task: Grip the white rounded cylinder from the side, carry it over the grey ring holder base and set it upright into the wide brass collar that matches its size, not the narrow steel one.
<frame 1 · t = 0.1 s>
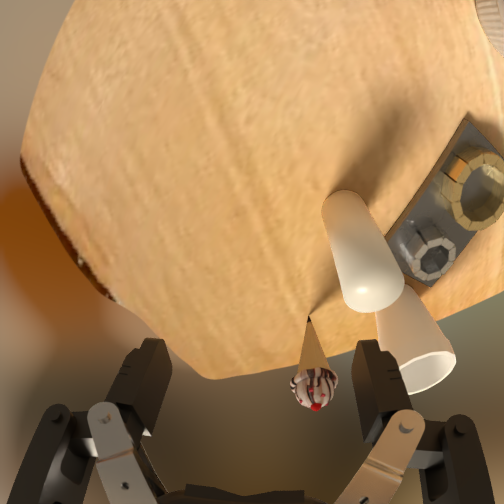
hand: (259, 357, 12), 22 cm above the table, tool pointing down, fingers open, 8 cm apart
grey ring holder base: (448, 209, 31), on the table
white rounded cylinder: (343, 210, 32), on the table
ice cream cone: (308, 315, 42), on the table
foam cup: (394, 299, 40), on the table
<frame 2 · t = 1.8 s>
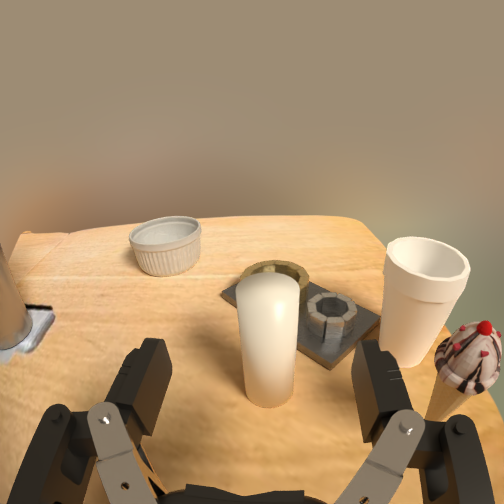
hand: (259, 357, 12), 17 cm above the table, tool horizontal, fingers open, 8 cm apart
grey ring holder base: (297, 311, 41), on the table
white rounded cylinder: (269, 389, 30), on the table
ice cream cone: (418, 438, 22), on the table
ramekin: (170, 263, 56), on the table
foam cup: (401, 350, 33), on the table
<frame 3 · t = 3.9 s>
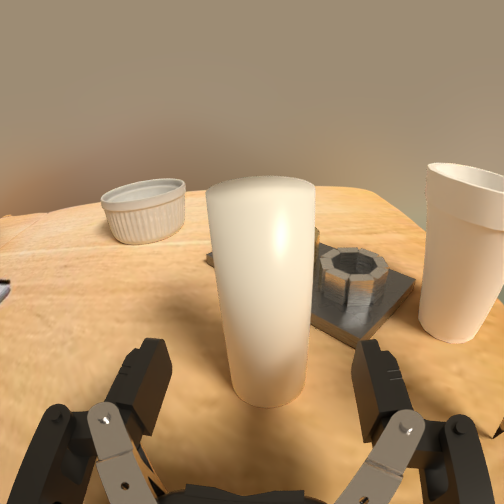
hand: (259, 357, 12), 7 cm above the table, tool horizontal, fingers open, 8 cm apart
grey ring holder base: (306, 276, 31), on the table
white rounded cylinder: (268, 379, 20), on the table
ice cream cone: (492, 440, 11), on the table
ramekin: (150, 232, 46), on the table
foam cup: (447, 322, 23), on the table
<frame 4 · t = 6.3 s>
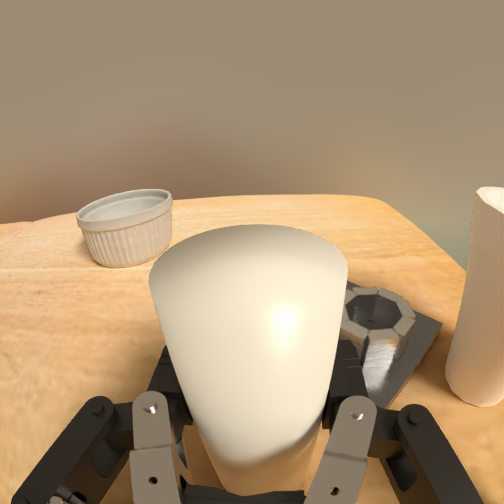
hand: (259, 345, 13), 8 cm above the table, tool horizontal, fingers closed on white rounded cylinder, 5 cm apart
grey ring holder base: (311, 318, 25), on the table
white rounded cylinder: (262, 466, 14), on the table, touching gripper
ramekin: (133, 251, 40), on the table
foam cup: (477, 377, 17), on the table
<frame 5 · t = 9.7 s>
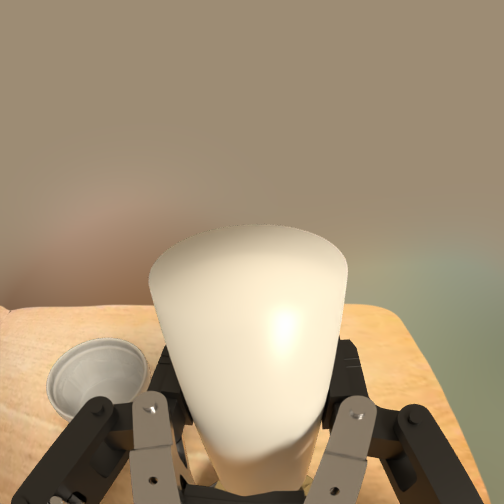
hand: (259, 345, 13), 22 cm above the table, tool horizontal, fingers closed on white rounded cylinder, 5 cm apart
white rounded cylinder: (262, 466, 14), point 14 cm above the table, touching gripper
ramekin: (115, 409, 32), on the table
when the fingers open (9 cm above the table, at t = 13.4 s): white rounded cylinder stays where it is, resting on grey ring holder base.
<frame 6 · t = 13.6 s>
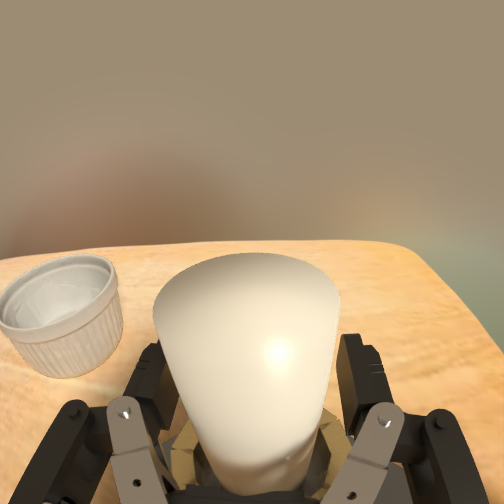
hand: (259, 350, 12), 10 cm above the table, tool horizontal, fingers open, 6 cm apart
white rounded cylinder: (262, 473, 14), point 1 cm above the table, touching grey ring holder base
ramekin: (76, 343, 26), on the table
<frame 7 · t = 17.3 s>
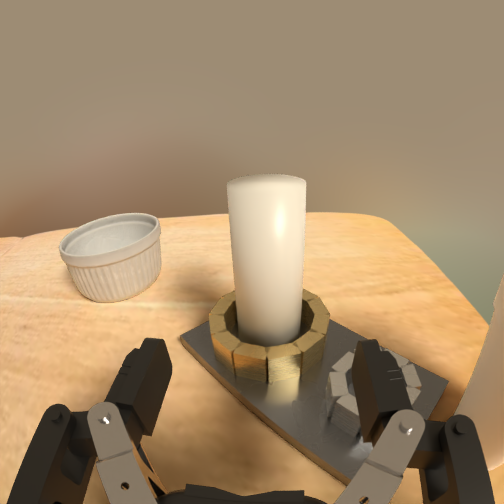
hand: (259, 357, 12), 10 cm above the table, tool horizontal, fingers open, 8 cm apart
grey ring holder base: (308, 375, 22), on the table
white rounded cylinder: (269, 338, 25), point 1 cm above the table, touching grey ring holder base
ramekin: (121, 281, 37), on the table
foam cup: (479, 438, 14), on the table
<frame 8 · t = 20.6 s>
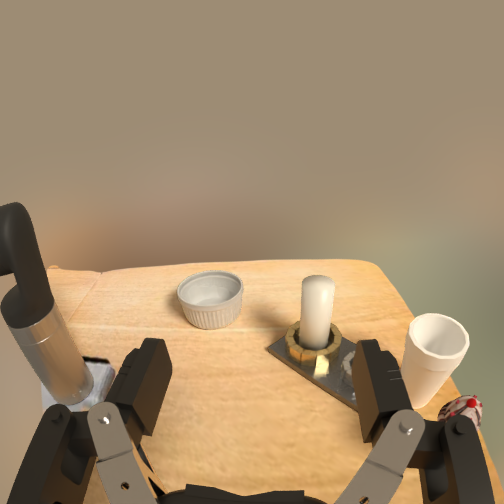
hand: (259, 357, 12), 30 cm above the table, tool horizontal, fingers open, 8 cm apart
grey ring holder base: (332, 363, 48), on the table
white rounded cylinder: (312, 346, 50), point 1 cm above the table, touching grey ring holder base
ice cream cone: (424, 461, 28), on the table
ramekin: (214, 314, 63), on the table
foam cup: (412, 394, 39), on the table
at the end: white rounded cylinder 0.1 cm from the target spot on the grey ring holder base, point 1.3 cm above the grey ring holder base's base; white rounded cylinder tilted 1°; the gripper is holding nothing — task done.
